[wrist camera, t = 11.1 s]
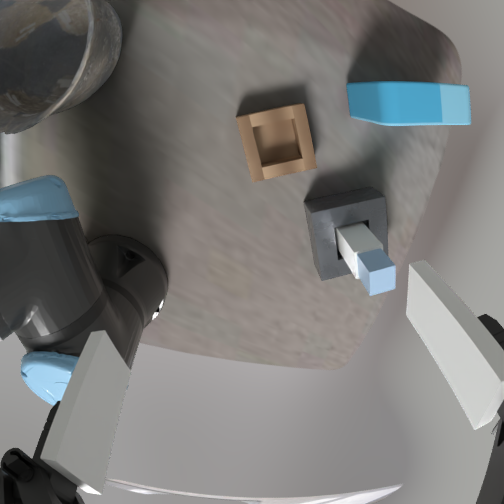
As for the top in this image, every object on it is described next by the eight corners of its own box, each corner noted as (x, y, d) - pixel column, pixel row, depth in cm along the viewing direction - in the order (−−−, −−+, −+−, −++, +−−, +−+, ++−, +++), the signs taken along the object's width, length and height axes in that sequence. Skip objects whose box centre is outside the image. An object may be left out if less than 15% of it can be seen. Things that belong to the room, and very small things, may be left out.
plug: (335, 245, 44) (367, 298, 33) (332, 221, 43) (366, 270, 31) (359, 239, 44) (397, 290, 32) (356, 216, 42) (397, 262, 31)
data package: (420, 82, 35) (474, 86, 25) (423, 113, 37) (476, 125, 27) (342, 83, 35) (382, 81, 25) (346, 117, 38) (387, 126, 27)
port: (314, 264, 47) (322, 282, 43) (303, 201, 43) (311, 214, 38) (376, 249, 47) (389, 264, 42) (371, 186, 42) (386, 197, 38)
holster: (251, 176, 41) (252, 182, 38) (235, 116, 37) (236, 118, 34) (311, 162, 40) (317, 167, 38) (299, 103, 37) (304, 103, 34)
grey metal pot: (60, 146, 37) (-6, 175, 23) (10, 58, 29) (-59, 60, 16) (162, 66, 33) (123, 51, 20) (103, -24, 26) (51, -62, 13)
